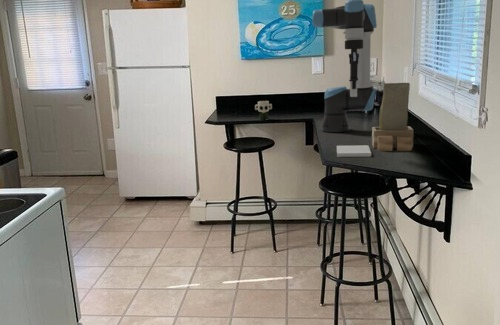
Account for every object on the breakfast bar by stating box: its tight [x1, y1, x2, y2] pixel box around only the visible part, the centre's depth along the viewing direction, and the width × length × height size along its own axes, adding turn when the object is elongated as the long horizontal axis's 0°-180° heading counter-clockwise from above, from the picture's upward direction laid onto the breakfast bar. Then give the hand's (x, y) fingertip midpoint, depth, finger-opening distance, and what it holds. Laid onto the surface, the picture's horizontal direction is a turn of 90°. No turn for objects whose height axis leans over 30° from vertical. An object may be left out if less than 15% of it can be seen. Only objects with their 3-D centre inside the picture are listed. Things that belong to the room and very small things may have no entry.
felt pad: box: [336, 144, 372, 158], centre depth 207 cm, size 16×14×2 cm
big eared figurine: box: [254, 100, 273, 121], centre depth 305 cm, size 11×7×13 cm, turn 92°
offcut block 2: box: [395, 135, 413, 152], centre depth 208 cm, size 4×6×6 cm, turn 81°
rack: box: [371, 125, 414, 149], centre depth 217 cm, size 10×17×8 cm, turn 81°
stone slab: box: [378, 82, 411, 130], centre depth 211 cm, size 12×4×30 cm, turn 80°
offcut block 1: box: [376, 136, 394, 152], centre depth 210 cm, size 4×6×6 cm, turn 81°
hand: (353, 96), depth 202 cm, fingers open, 3 cm apart
